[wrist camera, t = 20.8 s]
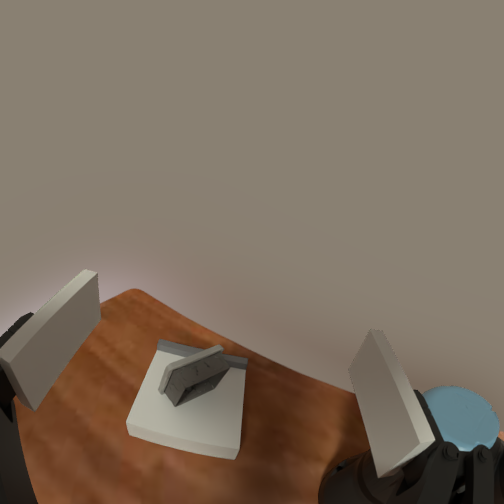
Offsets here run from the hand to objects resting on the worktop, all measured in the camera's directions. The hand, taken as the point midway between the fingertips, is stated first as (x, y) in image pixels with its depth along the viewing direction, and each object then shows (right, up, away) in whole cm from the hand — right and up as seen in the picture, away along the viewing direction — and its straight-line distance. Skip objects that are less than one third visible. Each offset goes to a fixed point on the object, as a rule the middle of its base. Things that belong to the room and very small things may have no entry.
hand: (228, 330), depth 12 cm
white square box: (-9, -22, +28) cm, 37 cm away
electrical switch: (-8, -19, +27) cm, 33 cm away
